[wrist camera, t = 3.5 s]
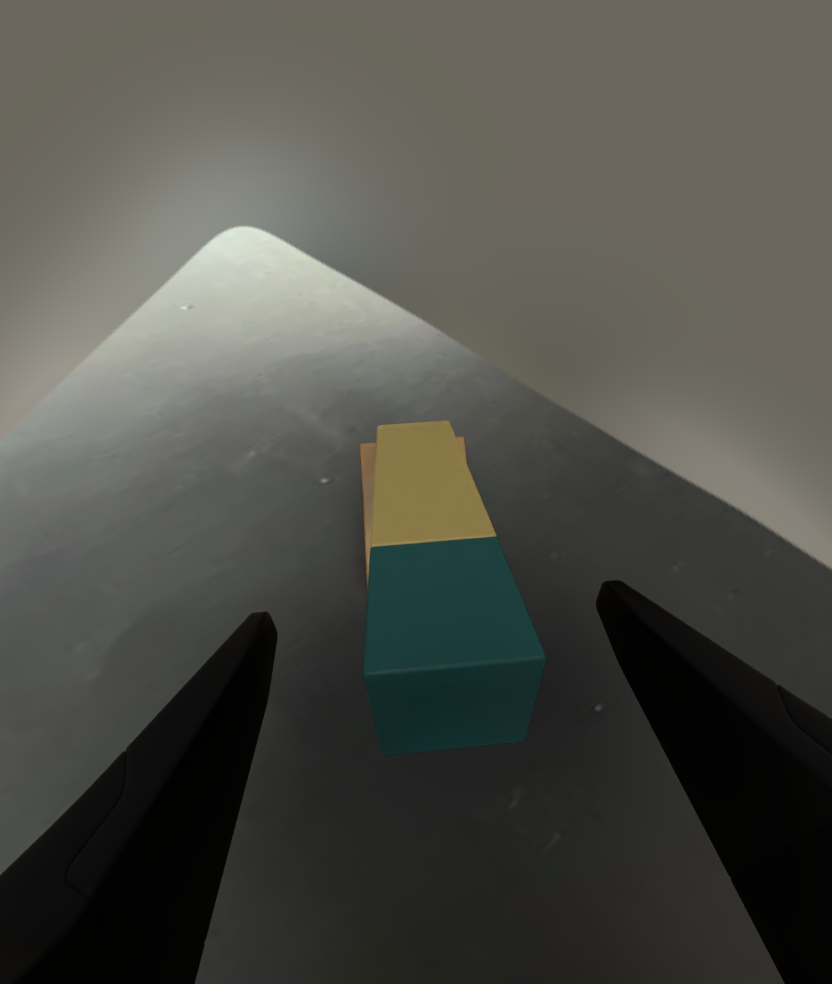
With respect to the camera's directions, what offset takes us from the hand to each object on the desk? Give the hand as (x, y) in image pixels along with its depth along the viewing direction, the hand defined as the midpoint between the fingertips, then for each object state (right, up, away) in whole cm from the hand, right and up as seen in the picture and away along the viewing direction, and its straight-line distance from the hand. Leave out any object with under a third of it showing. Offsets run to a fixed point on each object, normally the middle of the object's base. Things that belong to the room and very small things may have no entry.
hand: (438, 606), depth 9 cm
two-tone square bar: (0, +2, +3) cm, 3 cm away
